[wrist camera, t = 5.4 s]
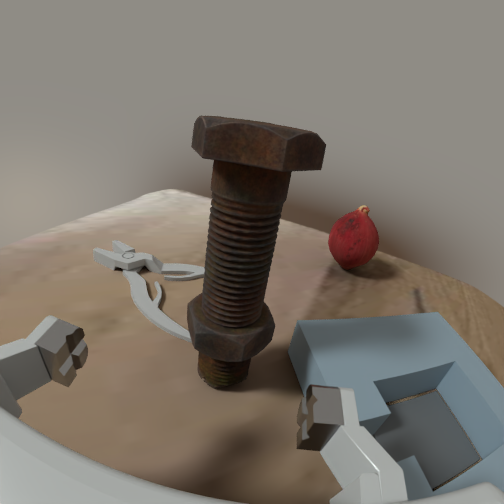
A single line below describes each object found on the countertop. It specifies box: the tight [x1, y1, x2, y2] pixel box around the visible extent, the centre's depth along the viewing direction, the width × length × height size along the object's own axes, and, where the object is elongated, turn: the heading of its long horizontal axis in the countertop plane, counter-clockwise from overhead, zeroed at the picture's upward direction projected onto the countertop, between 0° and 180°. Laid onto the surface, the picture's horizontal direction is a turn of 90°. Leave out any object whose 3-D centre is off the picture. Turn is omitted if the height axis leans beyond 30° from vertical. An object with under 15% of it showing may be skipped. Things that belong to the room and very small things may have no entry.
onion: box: [328, 206, 379, 270], centre depth 33 cm, size 6×6×8 cm
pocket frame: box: [288, 312, 504, 501], centre depth 13 cm, size 20×14×3 cm
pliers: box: [93, 240, 205, 343], centre depth 27 cm, size 10×2×15 cm
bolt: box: [187, 116, 326, 388], centre depth 15 cm, size 6×5×15 cm
